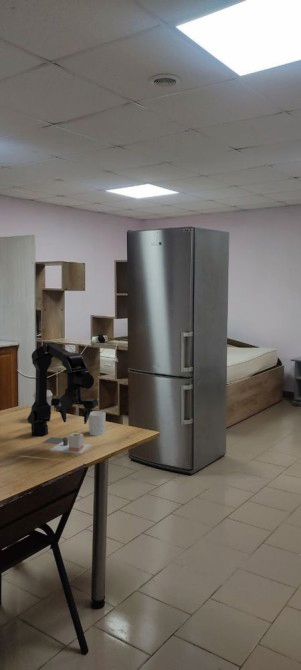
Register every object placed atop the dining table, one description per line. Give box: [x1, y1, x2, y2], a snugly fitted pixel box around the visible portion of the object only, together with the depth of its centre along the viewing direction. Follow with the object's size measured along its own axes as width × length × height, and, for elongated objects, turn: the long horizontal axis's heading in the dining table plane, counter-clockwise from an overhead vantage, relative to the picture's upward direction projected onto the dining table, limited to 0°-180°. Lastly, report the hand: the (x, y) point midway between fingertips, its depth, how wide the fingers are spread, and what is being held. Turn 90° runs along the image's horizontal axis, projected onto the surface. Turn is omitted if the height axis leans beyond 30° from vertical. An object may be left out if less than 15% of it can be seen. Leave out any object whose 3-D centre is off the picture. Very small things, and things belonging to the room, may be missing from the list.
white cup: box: [87, 410, 107, 437], centre depth 228 cm, size 8×8×10 cm
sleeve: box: [68, 432, 85, 452], centre depth 205 cm, size 4×4×6 cm
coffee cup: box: [32, 389, 53, 423], centre depth 253 cm, size 10×10×15 cm
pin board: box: [48, 437, 93, 455], centre depth 208 cm, size 14×11×4 cm
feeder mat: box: [42, 436, 64, 445], centre depth 219 cm, size 8×8×1 cm
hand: (75, 422), depth 205 cm, fingers open, 9 cm apart
